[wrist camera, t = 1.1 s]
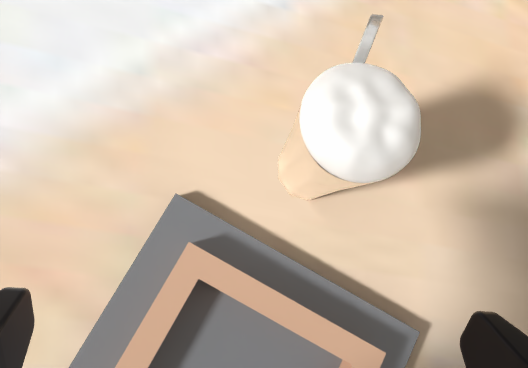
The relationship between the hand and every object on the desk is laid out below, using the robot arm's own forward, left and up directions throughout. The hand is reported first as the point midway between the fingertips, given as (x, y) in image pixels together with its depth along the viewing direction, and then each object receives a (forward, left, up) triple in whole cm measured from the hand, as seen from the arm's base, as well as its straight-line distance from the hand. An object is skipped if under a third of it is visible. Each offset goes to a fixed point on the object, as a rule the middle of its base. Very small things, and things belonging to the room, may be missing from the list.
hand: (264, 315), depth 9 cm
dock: (-3, +4, -14) cm, 14 cm away
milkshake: (-1, -8, -14) cm, 16 cm away
